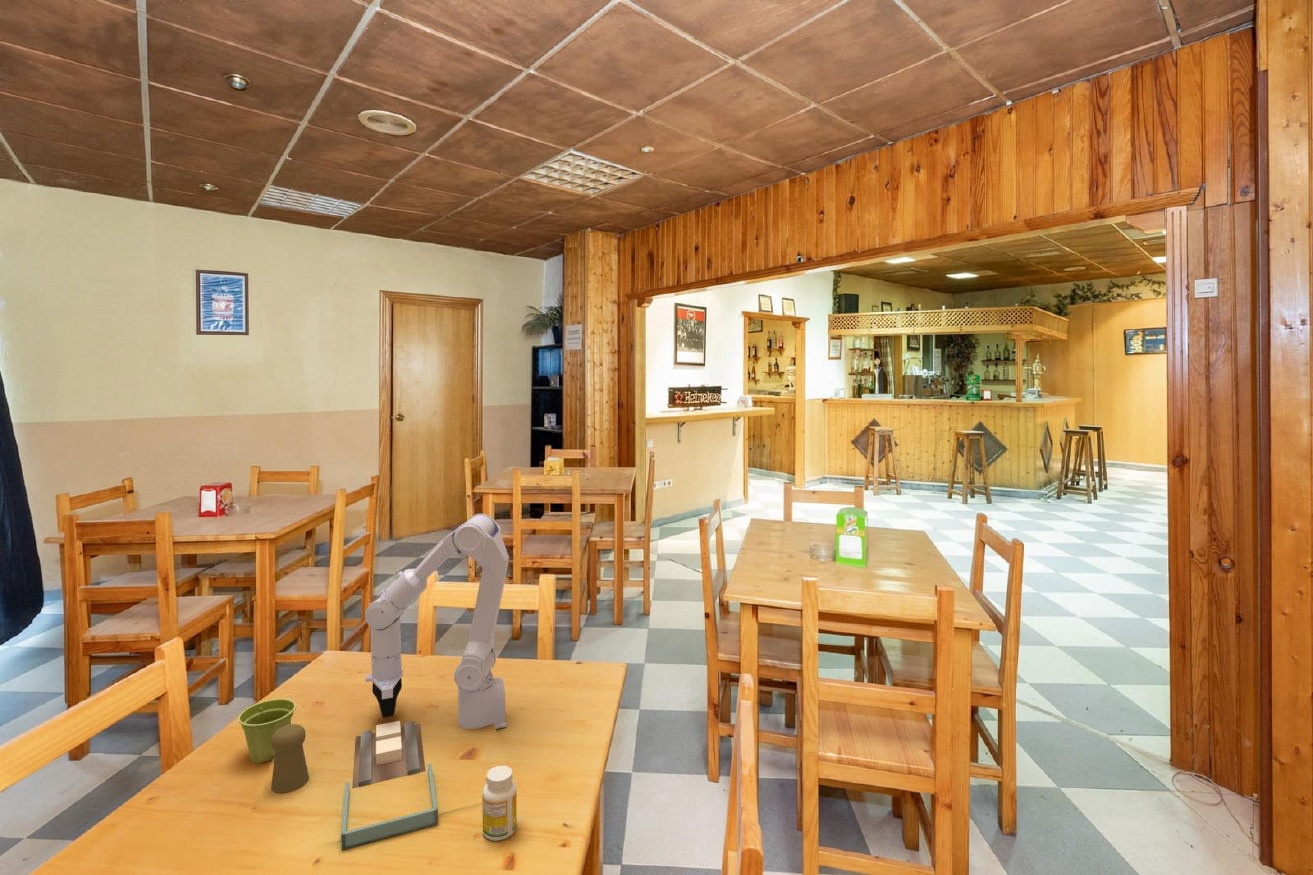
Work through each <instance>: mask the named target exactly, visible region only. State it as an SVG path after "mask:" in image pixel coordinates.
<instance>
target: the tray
mask: <svg viewBox="0 0 1313 875" xmlns="http://www.w3.org/2000/svg"><path fill="white" fill-rule="evenodd" d="M427 773H428V781H429V783H428V784H429V791H430V796H431V797H430V799H431V804H432V805H431V807H432V808H429V809H426V810H422V811H418V812H415V813H411V814H407V815H404V816H400V817H395V818H391V819H387V820H384V821H379V822H376V823H373V824H369V825H364V826H361V827H357V828H354V829H349V830H347V829H348V820H349V819H348V817H349V806H350V805H349V803H350V791H351V790H350V781H348V782H345V784H344V796H343V809H342V820H341V821H342V822H341V829H340V831H341V832H340V840H341V841H340V842H341V843H340V845H341V851H344V850H345V851H346V850H348V849H351V848H355V847H359V846H363V845H367V844H370V843H373V842H377V841H382V840H385V839H388V838H392V837H396V836H399V835H403V834H407V833H410V832H414V831H418V830H422V829H426V828H429V827H432V826H436V825H439V815H438V814H439V808H438V801H437V796H436V793H437V792H436V787H435V786H436V785H435V780H434V772H433V764H432V762H429V763H427Z"/></svg>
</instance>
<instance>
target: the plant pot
mask: <svg viewBox="0 0 1313 875" xmlns="http://www.w3.org/2000/svg"><path fill="white" fill-rule="evenodd" d="M296 709H297V703H296V701H294V700H292V699H289V698H274V699H272V698H271V699H268V700H263V701H261V702H258V703H255V704H253V705H251V706H249V707H247V708H245V709H244V710H243V711H241V713H240V714H239V715H238V717H237V721H238V722H237V723H239V724H240V725H241V728H242V730H243V731H244V735H245V740H246V745H247V750H248V755H249V760H250V761H251V762H253V763H257V764H261V763H262V762H272V761H273V757H275V750H273V748H272V746H271V739H272V736H273V734H274V733H275V731H277V730H278V729H279V728H281V727H283V726H286V725H290V724H292V718H293V717H294V712H295V710H296Z"/></svg>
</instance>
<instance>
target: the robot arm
mask: <svg viewBox="0 0 1313 875" xmlns="http://www.w3.org/2000/svg"><path fill="white" fill-rule="evenodd" d="M462 553H463V554H465V555H466V556H468V557H469V558H471V559H473V561H476V562H477V564H478V565H479V566H480V567H481V568H482V570H481V575H480V579H479V585H478V590H477V596H476V600H475V601H476V602H475V605H474V611H473V617H472V621H471V625H470V630H469V637H468V640H467V644H466V646H465V649H464V652H463V655H462V659H461V661H460V663H459V665H457V667H456V668H455V671H454V675H453V678H454V682H455V684H456V686H457V695H458V696H457V697H458V698H457V700H458V703H457V704H458V706H457V708H458V725H459V726H460V727H461V728H463V729H465V730H479V729H483V728H485V727H488V726H491V725H493V726H494V729H495V730H498V729H503V728H506V727H507V723H506V722H507V721H506V690H505V689H506V688H505V683H504V679H503V678H502V677H494V675H493V673H492V668H493V667H494V666H495V663H496V661H497V654H496V653H495V641H496V640H495V639H494V637H495V633H496V632H495V631H496V626H497V621H498V615H499V611H500V607H501V606H500V605H501V602H502V596H503V592H504V586H505V582H506V576H507V572H508V567H509V561H510V556H509V553H508V550H507V547H506V545H505V543H504V539H503V536H502V530H501V526H500V525H499V524H498V523H497V522H496V521H495V520H494V519H493V518H492V517H491V516H490V515H488V514H485V513H476V514H473V516H471V517H470V518H469V519H468V520H467V521H466V522H464V523H462V524H461V525H460V526H458V527H457V528H456V529H454V530H453V531H451V532H450V533H449V534H448V535H446V536H445V537H444V538H443V539H441V540H440V541H439V542H438V543H437V545H436V546H435V547H434V548H433V549H432V550H431V551H430V552H429V553H428V555H426V556H425V558H424V559H423V560H422V561H421V562H420V563H419V565H417V567H416V568H407V569H404V570H403V571H402V570H401V571H399V572H398V573H397V574H396V575H395V576H394V578H395V580H394V581H393V582H392V583H391V584H389V586H388V587H387V588H384V589H382V590H381V591H380V592H379V595H380V597H378V598H377V599H376V600H374V601H372V602H370V603H369V605H368V607H367V608H366V610H365V613H364V618H365V622H366V623H367V625H368V626H369V627H370V628H369V629H370V655H371V656H370V658H371V659H370V660H371V673H368V674H366V675H365V682H366V683H368V682H371V683H372V686H371V687H372V689H371V690H372V694H373V695H374V697H375V698H376V701H377V702H378V705H379V710H380V713H381V717H382V718H383V719H385V718H390V717H394V715H395V711H396V705H397V699H398V696H399V694H400V692H401V690H402V687H403V683H402V682H403V680H402V677H403V674H404V673H403V672H404V671H403V669H402V637H401V634H402V633H401V616H402V615H403V614H404V612H405V610H407V609H408V608H409V607H410V606H411V604H413V602H414V601H415V600H417V598H419V596H421V595H422V594H423V592H424V591H425V590H426V589H427V587H428V578H429V577H430V576H431V575H433V573H434V572H435V571H436V570H438V569H439V567H440V566H441V565H442V564H443V563H444V562H445V561H447V559H449V558H450V557H451V556H459V555H461V554H462Z"/></svg>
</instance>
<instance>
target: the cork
mask: <svg viewBox="0 0 1313 875" xmlns="http://www.w3.org/2000/svg"><path fill="white" fill-rule="evenodd" d="M306 737H307V735H306V730H305V728H304V727H303V726H302V725H301V724H298V723H297V724H296V723H291V724H290V725H286V726H283V727H281V728H279V729H278V730H277V731H275V733H274V734H273V736H272V739H271V746H272V748H273V750H275V756H274V760H273V769H272V778H271V784H270V785H271V786H270V787H271V788H270V789H271V790H270V791H272V792H273V793H275V794H281V795H283V794H288V793H291V792H295V791H297V790H299V789H301V788H302V787H304V786H305V785H307V783H308V782H309V780H310V775H309V770H308V765H307V761H306V755H305V750H304V745H303V744H304V743H305V740H306Z"/></svg>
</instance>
